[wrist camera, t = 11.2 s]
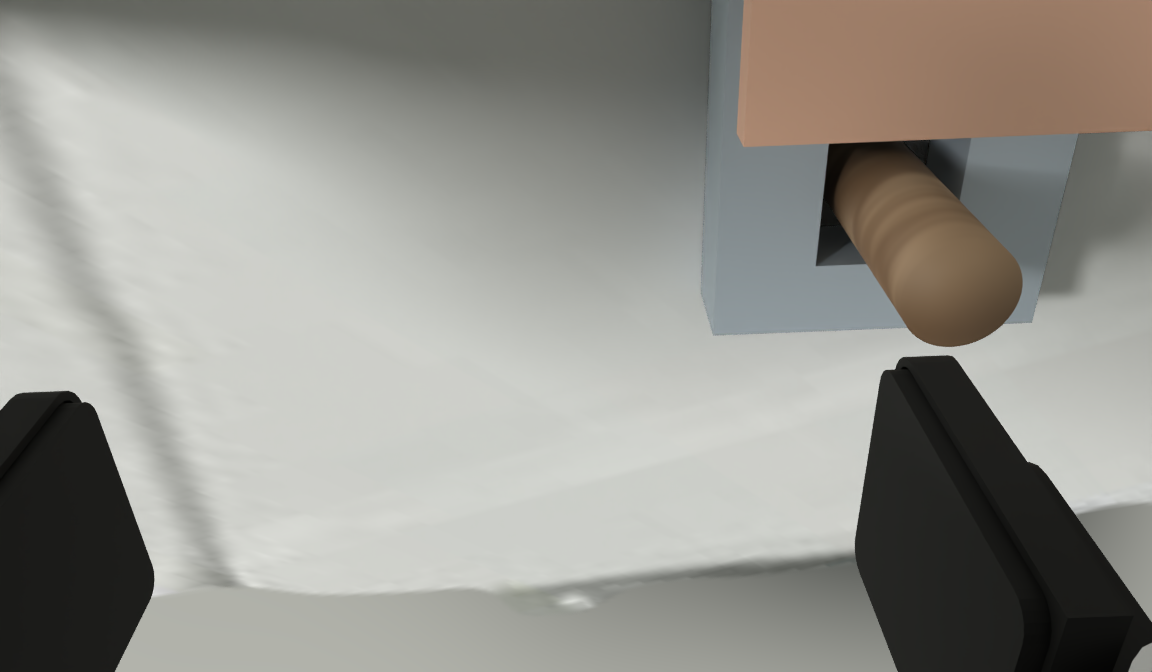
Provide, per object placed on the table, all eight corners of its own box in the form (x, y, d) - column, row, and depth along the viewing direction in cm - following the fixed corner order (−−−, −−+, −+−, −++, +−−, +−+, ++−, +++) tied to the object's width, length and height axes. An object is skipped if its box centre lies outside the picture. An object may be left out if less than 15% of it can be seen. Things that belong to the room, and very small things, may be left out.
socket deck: (679, 293, 44) (724, 476, 33) (691, -188, 34) (762, -172, 23) (1015, 279, 44) (1180, 457, 33) (1128, -206, 34) (1425, -199, 23)
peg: (819, 125, 40) (910, 243, 30) (912, 121, 40) (1034, 238, 30) (811, 211, 42) (893, 349, 32) (899, 207, 42) (1009, 344, 32)
